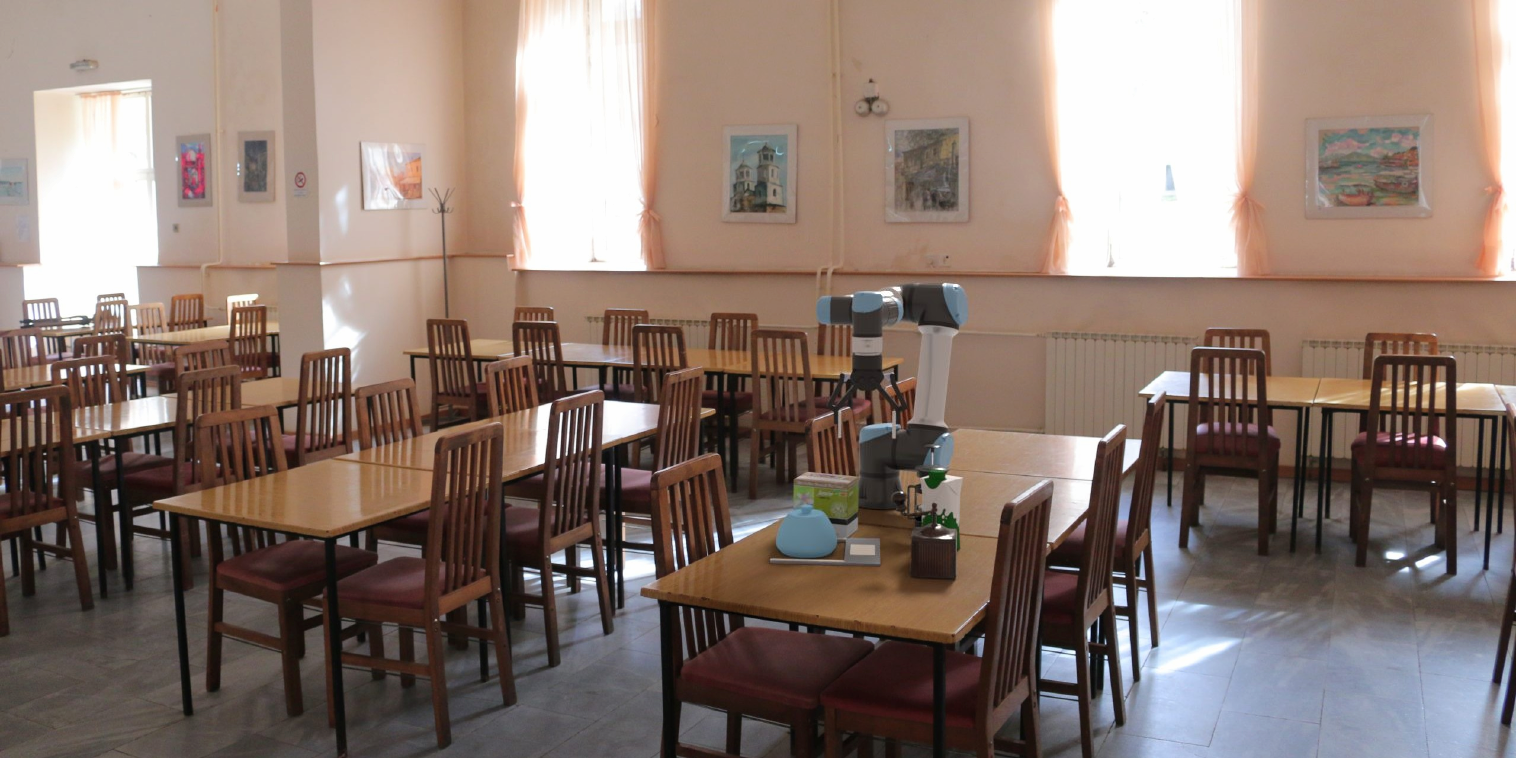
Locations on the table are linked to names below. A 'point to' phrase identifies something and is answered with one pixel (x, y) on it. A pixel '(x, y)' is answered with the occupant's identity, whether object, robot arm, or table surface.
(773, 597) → the table surface
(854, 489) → the tea box
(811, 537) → the sugar bowl
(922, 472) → the french press
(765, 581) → the table surface
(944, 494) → the milk carton
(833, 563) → the label board
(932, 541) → the brown manual coffee grinder
